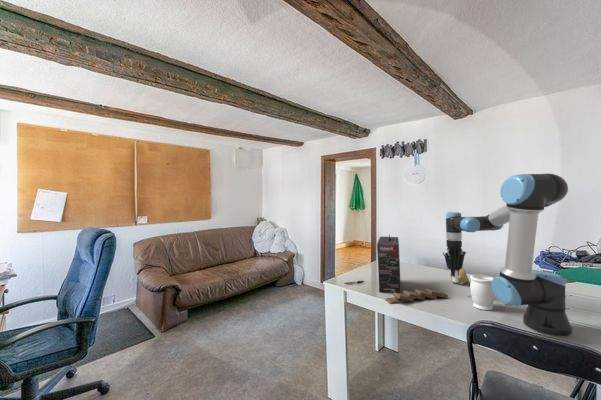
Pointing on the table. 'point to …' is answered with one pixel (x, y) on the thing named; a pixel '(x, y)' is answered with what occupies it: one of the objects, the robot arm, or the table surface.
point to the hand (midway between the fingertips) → (455, 281)
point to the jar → (482, 291)
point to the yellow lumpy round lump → (461, 277)
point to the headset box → (388, 264)
